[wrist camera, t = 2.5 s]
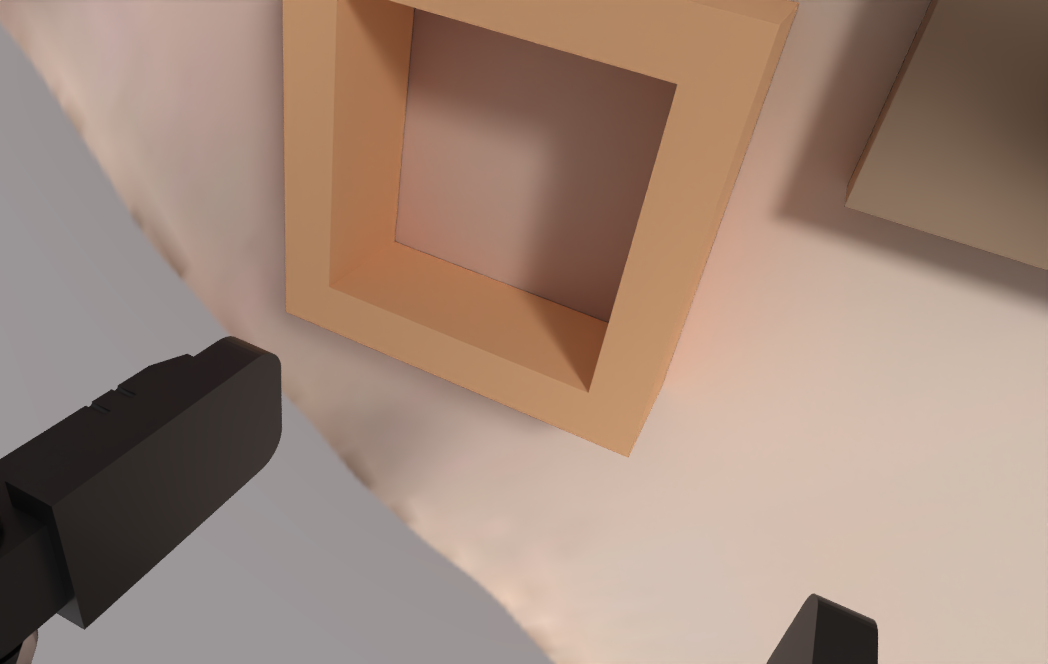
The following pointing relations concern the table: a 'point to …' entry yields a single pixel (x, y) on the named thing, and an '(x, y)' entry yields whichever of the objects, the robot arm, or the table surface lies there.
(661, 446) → the table surface
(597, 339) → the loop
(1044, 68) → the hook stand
